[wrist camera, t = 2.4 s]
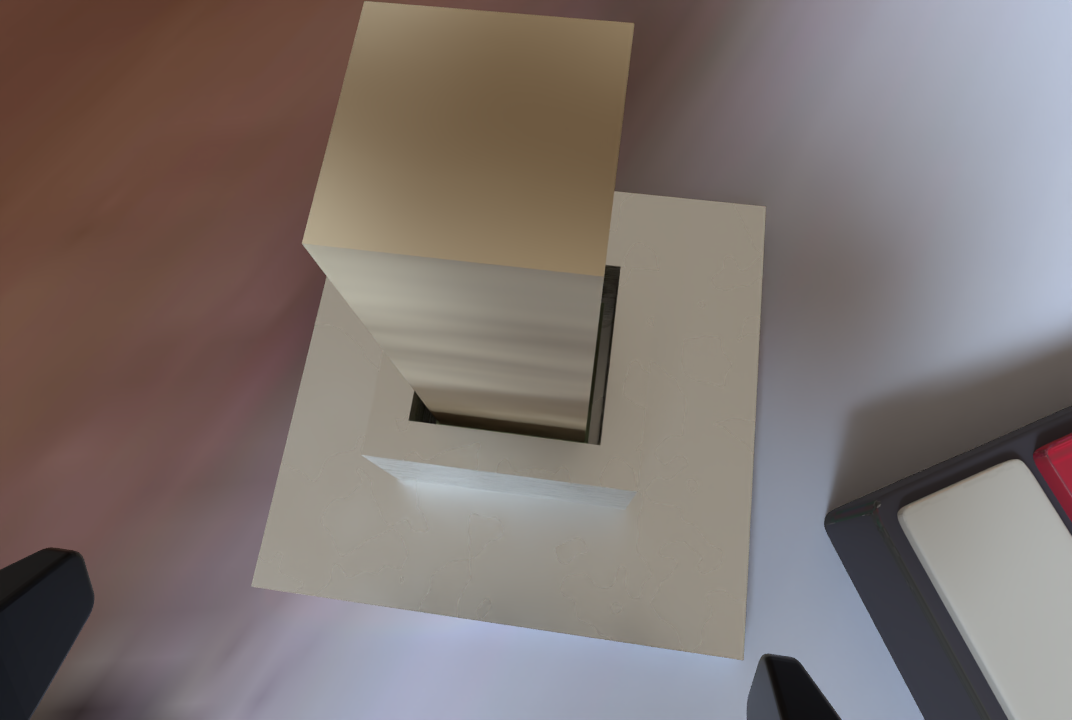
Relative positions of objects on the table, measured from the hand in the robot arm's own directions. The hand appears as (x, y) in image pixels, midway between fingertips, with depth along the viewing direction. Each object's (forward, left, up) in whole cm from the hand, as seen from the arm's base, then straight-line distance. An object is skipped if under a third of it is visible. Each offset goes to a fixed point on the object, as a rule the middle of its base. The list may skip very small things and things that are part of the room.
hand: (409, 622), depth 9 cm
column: (+2, -6, -11) cm, 13 cm away
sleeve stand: (+2, -6, -13) cm, 14 cm away
